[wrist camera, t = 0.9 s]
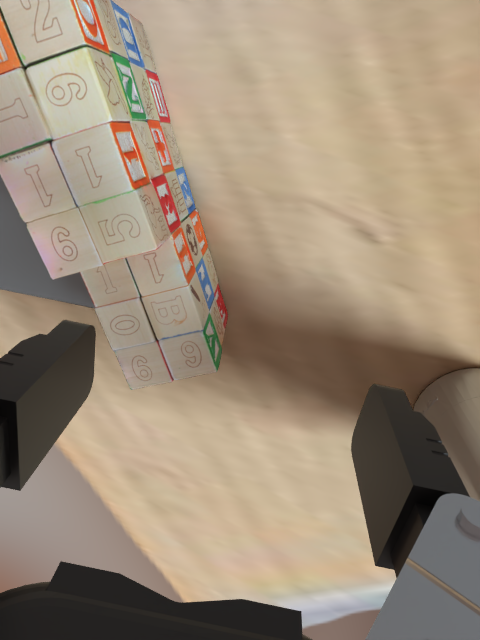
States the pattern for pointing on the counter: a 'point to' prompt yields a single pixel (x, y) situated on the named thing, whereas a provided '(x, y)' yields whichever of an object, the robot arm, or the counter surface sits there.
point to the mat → (31, 262)
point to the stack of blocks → (107, 183)
